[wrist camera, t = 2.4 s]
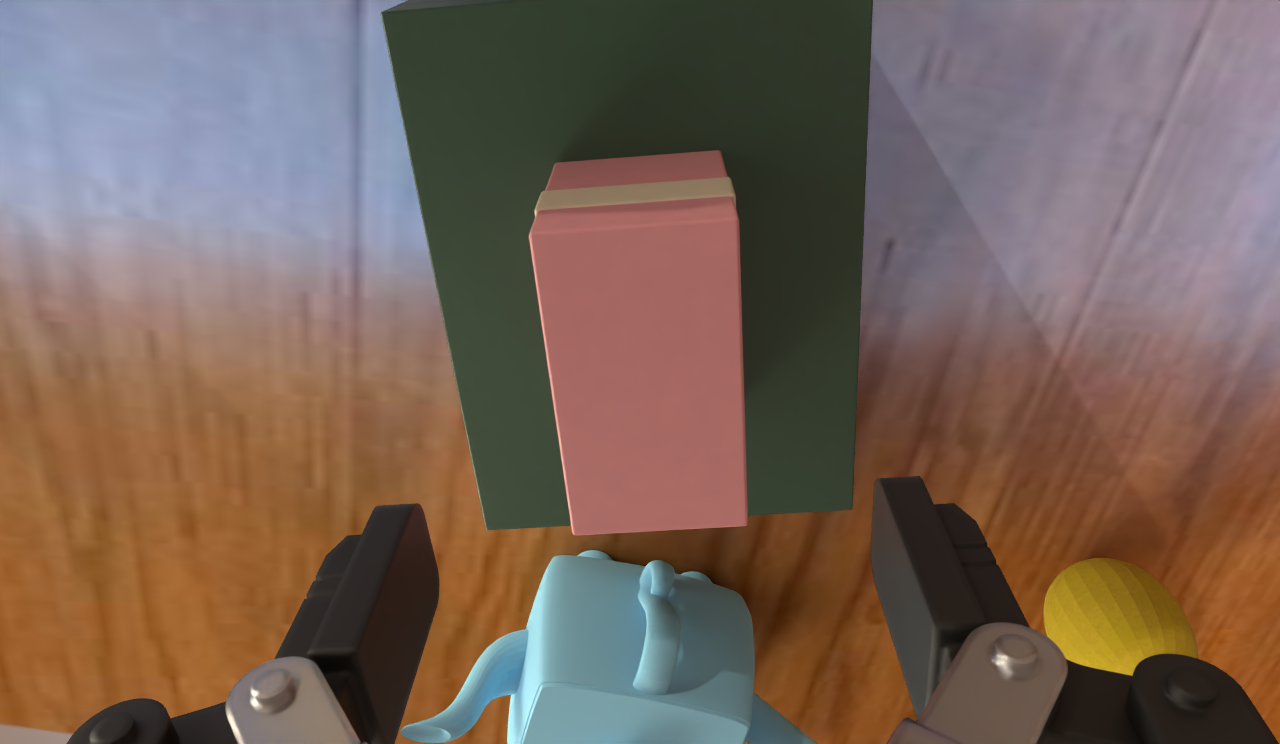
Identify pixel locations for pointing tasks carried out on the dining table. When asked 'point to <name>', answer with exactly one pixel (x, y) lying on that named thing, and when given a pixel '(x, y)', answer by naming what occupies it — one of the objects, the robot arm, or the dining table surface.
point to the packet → (644, 340)
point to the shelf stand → (628, 127)
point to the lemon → (1114, 616)
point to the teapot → (621, 664)
